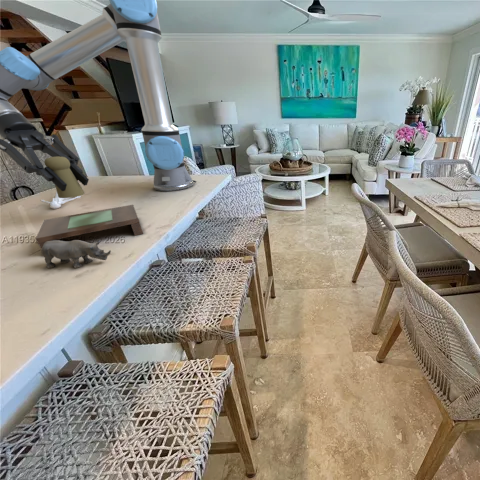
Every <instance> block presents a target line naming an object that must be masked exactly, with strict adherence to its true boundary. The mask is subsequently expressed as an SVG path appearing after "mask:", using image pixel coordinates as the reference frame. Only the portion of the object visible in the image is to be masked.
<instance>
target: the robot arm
mask: <svg viewBox="0 0 480 480" xmlns="http://www.w3.org/2000/svg"><path fill="white" fill-rule="evenodd" d="M108 1H109V4H108V5H107V6H105V7H103V8H102V14H100V15H99V16H97V17H95V18H93V19H91V20H89V21H87V22H85V23H84V24H82V25H79V26H78V27H76V28H75V29H72V30H71V31H69V32H67V33H66V34H64V35H61V36H60V37H59V38H57V39H55V40H53V41H51V42H49V43H47V44H46V45H44V46H42V47H40V48H39V49H36V50H35V51H33V52H31V53H30V54H28V55H25V54H23V53H22V52H21V51H19V50H17V49H16V48H15V47H12V46H7V47H4V48H3V49H1V50H0V136H1V137H2V138H3V139H2V138H0V150H1V151H2V152H4V153H6V154H7V155H8V156H9V157H10V158H11V159H12V161H14V162H15V163H16V164H17V165H18V166H19V167H21V169H22V170H23V171H24V172H25V173H27V174H33V173H35V175H36V176H40V177H42V178H43V179H44V180H45V181H47V182H52V183H53V185H54V186H55V185H56V186H57V187H58V188H59V189H60V190H61V191H65V190H66V186H67V184H66V183H65V182H64V181H63V180H62V179H61V178H60V177H58V176H57V175H56V174H55V173H54V172H53V171H52V170H51V169H50V168H49V167H46V166H44V165H43V163H42V161H41V160H40V158H39V157H38V155H37V153H36V151H40V152H41V153H43V154H46V155H48V156H50V157H57V156H59V157H65V158H67V159H68V160H69V162H70V167H69V168H70V170H71V171H72V173H73V174H74V176H75V178H76V179H77V181H78V182H80V183H81V185H83V186H84V187H86V186H88V184H89V180H90V179H89V178H88V177H87V176H86V175H85V174H84V172H83V169H82V168H80V167H79V165H78V164H79V160H80V158H79V157H78V156H77V155H76V154H75V153H74V152H73V151H72V150H70V148H69V147H67V146H66V145H65V144H64V143H63V142H62V141H61V140H60V137H59V136H58V135H57V134H52V135H45V134H44V133H42V132H40V131H39V130H38V129H37V127H36V126H35V125H34V124H33V123H32V122H31V121H30V120H29V119H28V118H26V116H24V115H23V113H22V112H21V111H20V110H18V108H16V107H15V106H14V105H13V104H12V103H11V102H10V101H9V99H10V98H12V97H13V96H14V95H15V94H17V93H18V92H19V91H21V90H22V89H26V90H30V91H42V90H45V89H47V88H48V87H49V85H50V84H51V83H52V82H54V81H55V80H57V79H59V78H61V77H63V76H65V75H66V74H68V73H70V72H71V71H73V70H75V69H77V68H78V67H81V65H84V64H85V63H87V62H89V61H91V60H92V59H94V58H96V57H98V56H99V55H101V54H103V53H105V52H107V51H108V50H110V49H112V48H114V47H115V46H117V45H119V44H121V43H123V42H124V43H126V48H127V51H128V56H129V60H130V66H131V70H132V73H133V78H134V82H135V86H136V92H137V96H138V99H139V103H140V104H139V105H140V108H141V112H142V117H143V121H144V125H143V126H142V127H141V134H142V138H143V143H144V153H145V156H146V158H147V159H148V161H149V162H150V163H151V164H152V166H153V170H154V173H153V188H154V190H155V191H158V192H174V191H182V190H187V189H189V188H191V187H193V186H194V183H197V181H196V180H194V179H193V178H192V176H191V175H190V173H189V171H188V170H187V168H186V165H185V160H184V159H185V151H184V148H183V145H182V140H181V136H180V135H181V134H180V130H179V128H178V127H177V126H176V125H174V122H173V118H172V112H171V107H170V102H169V96H168V91H167V86H166V80H165V74H164V69H163V64H162V59H161V54H160V53H161V52H160V48H159V42H160V41H161V40H162V38H163V36H162V31H161V25H160V21H159V15H158V3H157V2H158V1H157V0H108ZM17 148H19V149H21V151H22V153H23V154H24V155H23V154H22V153H21V152H20V151H19V150H18V149H17ZM25 156H26V157H25Z"/></svg>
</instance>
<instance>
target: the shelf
mask: <svg viewBox="0 0 480 480" xmlns="http://www.w3.org/2000/svg"><path fill="white" fill-rule="evenodd" d="M128 225H131V229H132V232H133V235H134V236H140V235H144V231H143V228H142V225H141V223H140V219H139V217H138V214H137V211H136V208H135V207H134V204H128V205H122V206H115V207H111V208H104V209H100V210H94V211H87V212H81V213H76V214H70V215H65V216H59V217H53V218H46V219H44V220H43V222H42V224H41V226H40V228H39V230H38V233H37V234H36V236H35V240H36V242H37V244H38V246H39V248H40V249H42V247H43V245H44V243H45V242H46V241H53V240H60V241H61V239H66V238H71V237H75V236H80V235H85V234H90V233H95V232H100V231H105V230H110V229H114V228H119V227H124V226H128Z"/></svg>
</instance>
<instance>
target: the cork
mask: <svg viewBox="0 0 480 480" xmlns="http://www.w3.org/2000/svg"><path fill="white" fill-rule="evenodd" d="M44 165H45V167H49V168H50V169H51V170H52V171H53V172H54V173H55V174H56V175H57V176H58V177H60V178H61V179H62V180H63V181H64V182H65V183H66V184H67V186H66V190H65V191H61V190H60V189H59V188H58V187H57V186H56V185H55V184H54V187H55V190H57V194H58V197H59V198H70V197H73V198H75V197H77V196H83V195H85V193H86V192H85V191H84V189H83V188H82V185H81V184H80V183H79V180H78V179H77V178H76V177H75V176H74V174H73V173H72V171H71V170H70V168H69V167H70V162H69V160H68V159H67V158H65V157H59V156H57V157H52V156H50V157H47V158H45V159H44Z"/></svg>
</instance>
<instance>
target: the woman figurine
mask: <svg viewBox="0 0 480 480" xmlns="http://www.w3.org/2000/svg"><path fill="white" fill-rule="evenodd" d="M55 190H56V189H55ZM80 198H82V195H80V196H76V197H70V198H59V197H58V194H57V190H56V191H55V194H54V197H52V200H51V201H47V200H44V199H40V202H41V203H46V204H48V205H49V208H51V209H53V210H56V209H59V208H62V205H65V203H68V202H71V201H74V200H76V199H77V200H78V199H80Z"/></svg>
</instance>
